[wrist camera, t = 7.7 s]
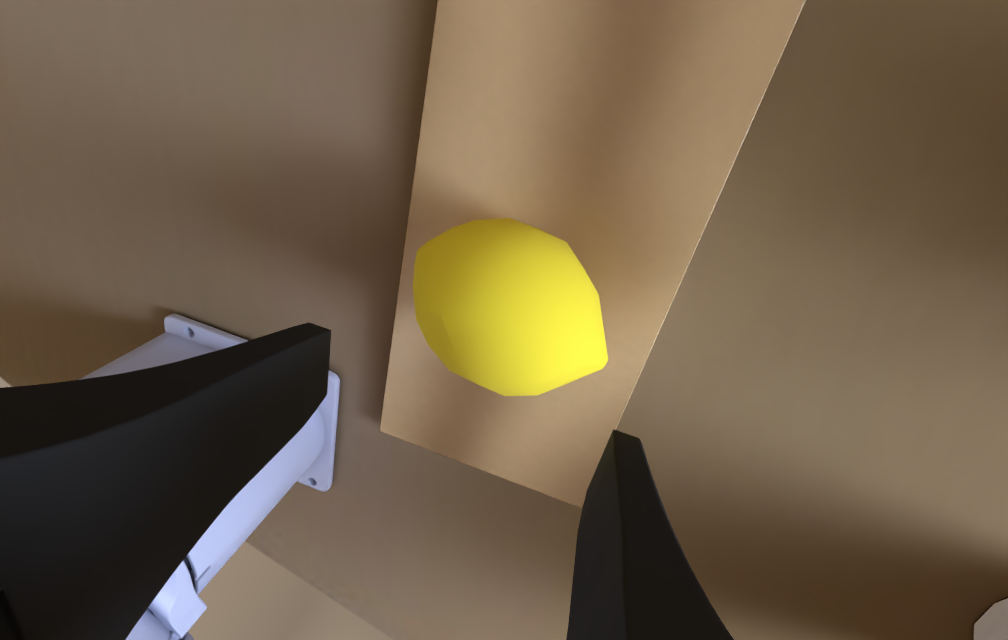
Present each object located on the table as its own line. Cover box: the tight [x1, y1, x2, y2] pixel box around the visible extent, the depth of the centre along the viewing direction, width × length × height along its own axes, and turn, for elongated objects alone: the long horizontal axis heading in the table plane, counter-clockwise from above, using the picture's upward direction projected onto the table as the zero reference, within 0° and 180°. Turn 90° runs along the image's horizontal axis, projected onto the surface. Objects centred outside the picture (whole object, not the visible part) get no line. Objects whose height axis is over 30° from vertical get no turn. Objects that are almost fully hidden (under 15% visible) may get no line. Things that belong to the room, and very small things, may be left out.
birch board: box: [380, 0, 806, 508], centre depth 19 cm, size 10×20×1 cm, turn 167°
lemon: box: [413, 218, 608, 396], centre depth 16 cm, size 7×5×5 cm
